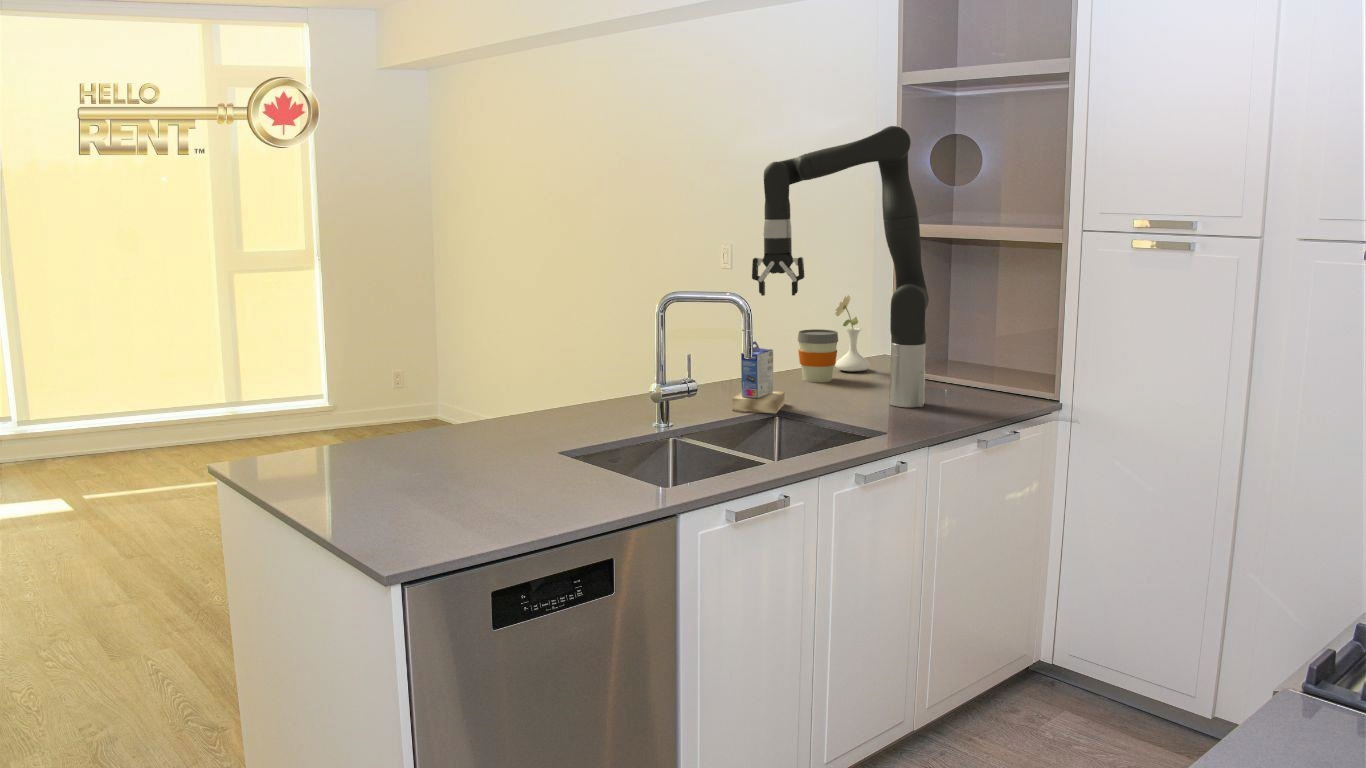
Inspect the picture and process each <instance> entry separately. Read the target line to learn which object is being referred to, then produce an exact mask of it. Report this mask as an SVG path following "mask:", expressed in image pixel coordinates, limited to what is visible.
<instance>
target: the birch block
mask: <svg viewBox="0 0 1366 768" xmlns="http://www.w3.org/2000/svg"><path fill="white" fill-rule="evenodd" d="M785 397H786V396H785V391H774V390H773V393H770V394H767V395H765V396H762V397H760V398H750V397H742V390H741V391H739V392H738V393H737V394H736V395H735V396H734V397H732V411H733V410H734V411H733V412H742V411H755V412H754V413H765V414H777V413H778V412H779V411H780V410H779V408H780V407H784V406H785V404H786V403H785V402H786V401H785V400H786V398H785ZM778 410H779V411H778Z"/></svg>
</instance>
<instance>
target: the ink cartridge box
mask: <svg viewBox="0 0 1366 768" xmlns="http://www.w3.org/2000/svg"><path fill="white" fill-rule="evenodd" d="M752 342H753V355H752V357H751V358H749V359H745V358H744V354H743V353H744V352H742V353H741V354H740V358H741V359H740V362H741V363H740V364H741V365H740V366H741V367H740V369H741V391H742V397H750V398H760V397H762V396H765V395H767V394H770V393H773V391H774V349H769V348H762V347H760V346H759V345H758V342H757V341H752ZM754 345H755V346H754Z"/></svg>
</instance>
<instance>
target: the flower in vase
mask: <svg viewBox="0 0 1366 768" xmlns="http://www.w3.org/2000/svg"><path fill="white" fill-rule="evenodd" d="M850 301H851V296H850V295H849V294H848V295H845V296H844V297H843V299H842V301H840V302H839V303H838V306H837V308H835V311H836V312H835V313H834V315H836V317H838V316H840V315H841V314H842V313H844V312H845V310H846V312H847V314H848V318H849V319H846V320H845V321H844V322H843V324H842V326H843V327H846V328H845V331H846V332H847V333H848V339H849V348H848V351H847V352H846V353H845V354H844V355H843V356H841V357H840V358H839V359H838V360H836V363H835V365H834V367H835V368H836V369H837V370H840V371H844V372H863V371H866V370H869V369H870V368H871V364H870V362H869V361H868V360H867V359H866V358H865V357H863V355H861V354H860V352H859V351H858V349H857V347H858V346H857V344H858V336H859V334H860V332H861V330H862V328H859V327H854V326H856V325H857V324H859V320H858V318H857V317H858V316H855V317H853V318H852V319H851V314H850V311H849V310H848V306H849V303H850ZM849 324H851V325H850V326H851V327H847V326H848V325H849Z"/></svg>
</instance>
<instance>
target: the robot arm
mask: <svg viewBox="0 0 1366 768" xmlns="http://www.w3.org/2000/svg"><path fill="white" fill-rule="evenodd" d="M911 141H912V140H911V137H910V134H909V133H908V132H907V131H906V129H904V128H903V127H900V126H897V125H891V126H887V127H884V128H883V129H881V130H879V131H878V132H876V133H873V134H871V135H869V136H866V137H864V138H861V139H858V140H856V141H855V140H854V141H852V142H849V143H844V144H841V145H836V146H831V147H826V148H822V149H819V150H815V151H811V152H807V153H804V154H802V155H799V156H797V157H793V158H789V159H783V160H781V161H780V160H779V161H772V162H771V163H769V164H768V165H766V167H765V169H764V171H763V189H764V225H763V257H762V258H758V257H754V258H752V266H751V268H752V269H751V279H752V280H753V281H757V282H758V293H759V294H760V295H761V296H763V297H764V296H766V281H765V279H766V278H767V277H768V275H769V274H785V273H786V275H787V276H788V277H789V278H790V279H791V296H796V294H797V293H798V292H799V287H798V286H799V283H798V282H799V281H800V280H803V279H805V267H804V266H805V265H804V264H805V263H804V257H802V256H799V257H793V254H792V249H793V248H792V247H793V246H792V222H791V202H790V185H794V184H797V183H800V182H803V181H810V180H814V179H818V178H822V177H826V176H829V175H833V174H835V173H838V172H841V171H844V170H847V169H850V168H852V167H856V166H860V165H864V164H869V163H875V162H877V164H878V168H879V172H880V177H881V178H880V179H881V186H882V190H881V192H882V194H881V198H882V199H881V201H882V205H881V206H882V218H883V219H882V220H883V228H884V229H883V230H884V235H885V240H886V244H887V249H888V251H889V254H890V257H891V259H892V263H893V266H894V273H895V275H894V276H895V290H894V292H893V294H892V296H891V300H890V320H889V321H890V322H889V325H890V335H891V337H890V338H891V343H890V348H891V349H890V372H889V373H890V374H889V375H890V376H889V405H891V406H893V407H898V408H899V407H900V408H923V407H924V404H925V395H926V394H925V391H926V389H925V387H926V346H927V345H926V342H927V333H926V309H927V308H928V305H929V292H928V289H927V286H926V281H925V276H924V272H923V266H922V250H921V249H922V246H921V243H922V242H921V230H920V221H919V213H918V212H919V211H918V208H917V207H918V206H917V204H916V203H917V202H916V199H915V195H914V191H913V188H912V183H911V181H910V174H909V152H910V149H911V144H912V143H911ZM793 263H794V264H795V265H796V266H797V268H798V269H797V271H798V275H796V273H795V272H794V270H793V268H791V266H792V265H793ZM761 264H763V265H764V266H765V269H764V270H763V272H762V273H761V275H759V267H760V266H761Z"/></svg>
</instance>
